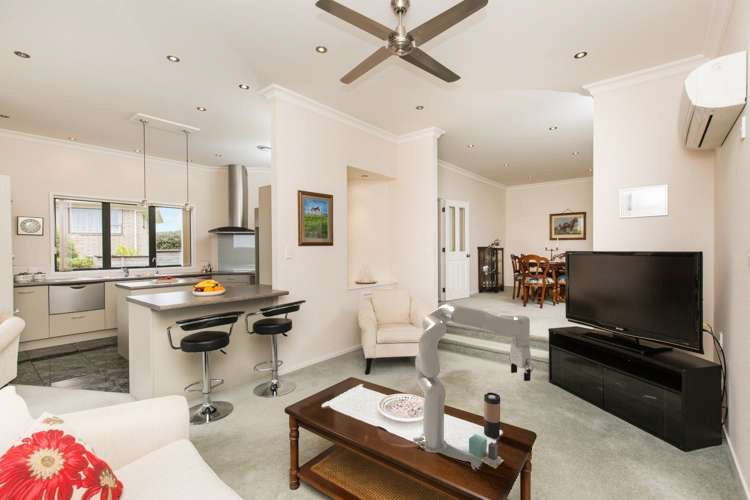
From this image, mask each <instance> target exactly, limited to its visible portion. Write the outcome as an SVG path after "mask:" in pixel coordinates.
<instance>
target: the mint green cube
mask: <svg viewBox="0 0 750 500" xmlns="http://www.w3.org/2000/svg"><path fill="white" fill-rule="evenodd" d="M487 442H488V439H487V438H486V437H483V436H482V435H479V434H478V433H475V434H473V435H472V436H470V437H469V438H468V452H469V453H470V454H472V455H474V456H476V457H478V458H480V459H481V458H482V457H483V456H484V455H485V454H486V453H487V452H488V448H487V447H488V443H487Z"/></svg>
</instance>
